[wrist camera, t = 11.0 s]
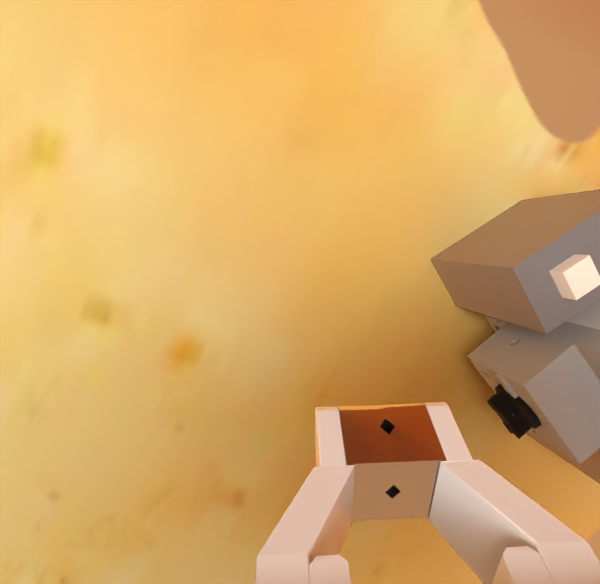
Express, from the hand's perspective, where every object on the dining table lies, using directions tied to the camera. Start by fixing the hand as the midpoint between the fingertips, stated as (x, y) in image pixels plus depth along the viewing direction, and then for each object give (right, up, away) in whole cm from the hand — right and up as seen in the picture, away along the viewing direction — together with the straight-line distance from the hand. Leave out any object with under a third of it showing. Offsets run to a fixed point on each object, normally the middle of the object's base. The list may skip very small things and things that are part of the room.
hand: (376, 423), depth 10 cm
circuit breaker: (+18, -1, +31) cm, 36 cm away
